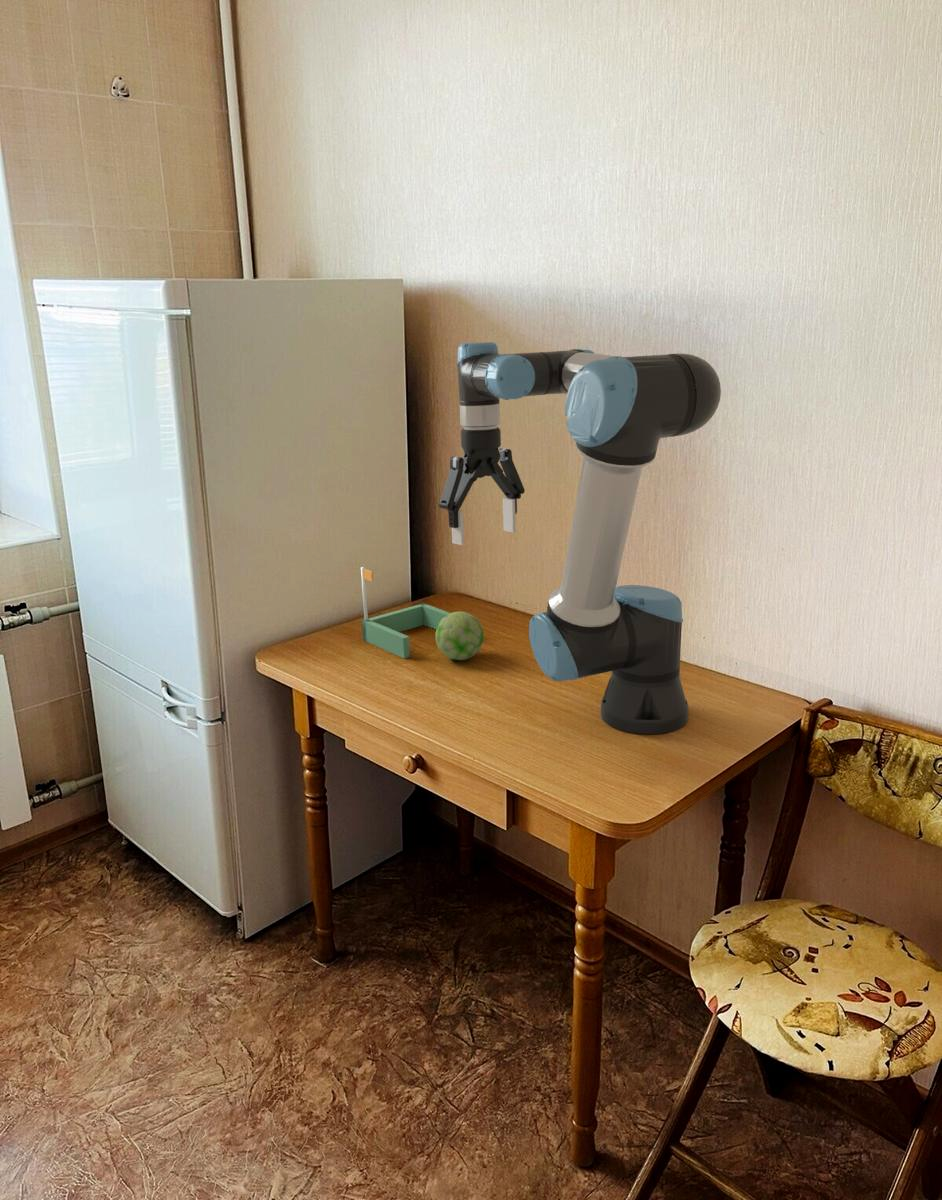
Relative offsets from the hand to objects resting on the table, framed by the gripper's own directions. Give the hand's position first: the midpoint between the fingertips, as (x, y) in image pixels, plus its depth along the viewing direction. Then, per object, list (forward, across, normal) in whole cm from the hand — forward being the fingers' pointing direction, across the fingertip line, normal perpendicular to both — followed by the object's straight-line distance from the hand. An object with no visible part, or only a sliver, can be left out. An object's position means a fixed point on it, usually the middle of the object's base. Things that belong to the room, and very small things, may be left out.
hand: (484, 537), depth 185 cm
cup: (+26, +1, -22) cm, 34 cm away
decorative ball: (+26, +2, -7) cm, 27 cm away
